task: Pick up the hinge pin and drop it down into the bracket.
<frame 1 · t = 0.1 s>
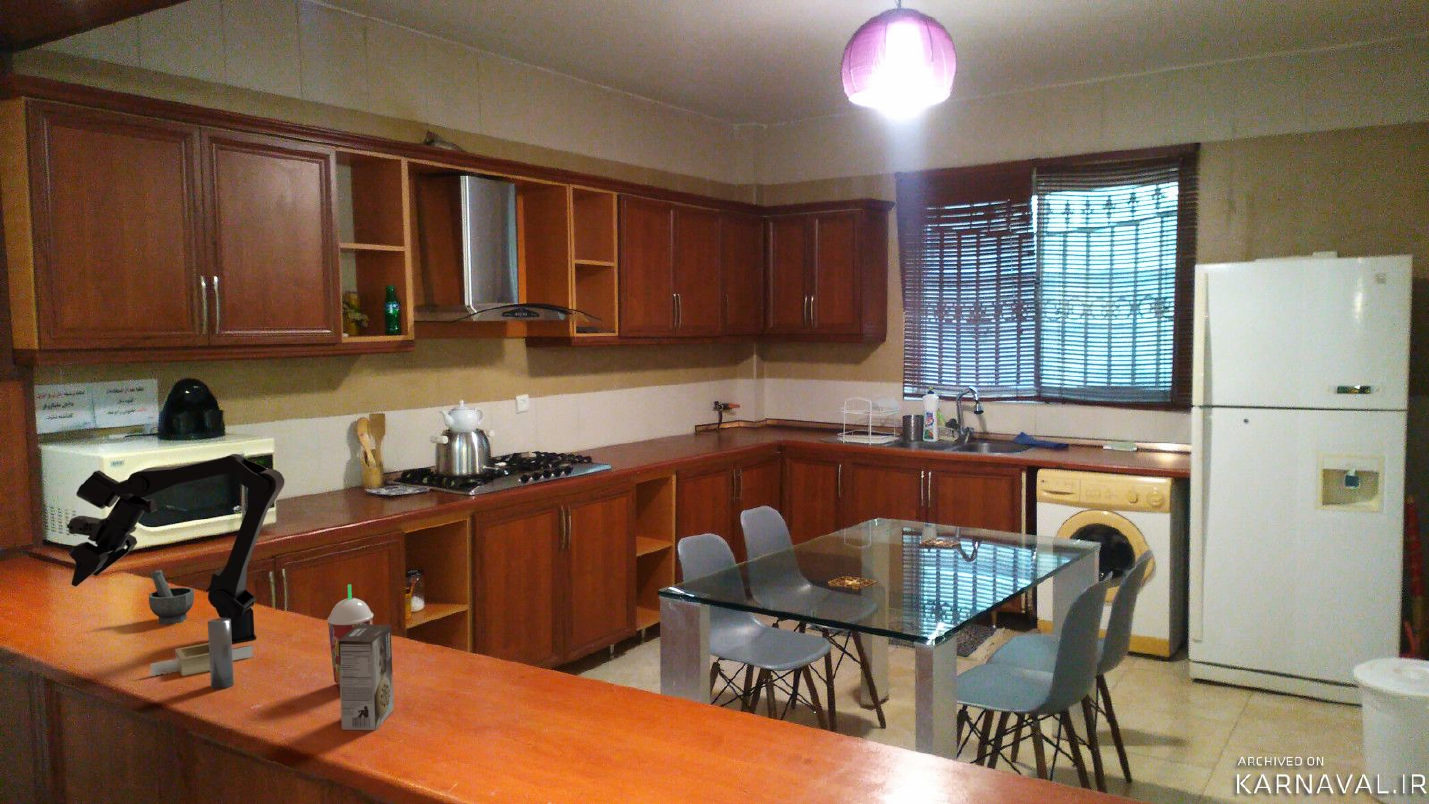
hand: (84, 580, 214), 15 cm above the worktop, tool tilted 35°, fingers open, 9 cm apart
hinge pin: (222, 685, 191), on the worktop
coffee box: (368, 721, 174), on the worktop
smoothie: (353, 686, 191), on the worktop
bracket: (200, 666, 202), on the worktop
mortar and pestle: (170, 621, 234), on the worktop
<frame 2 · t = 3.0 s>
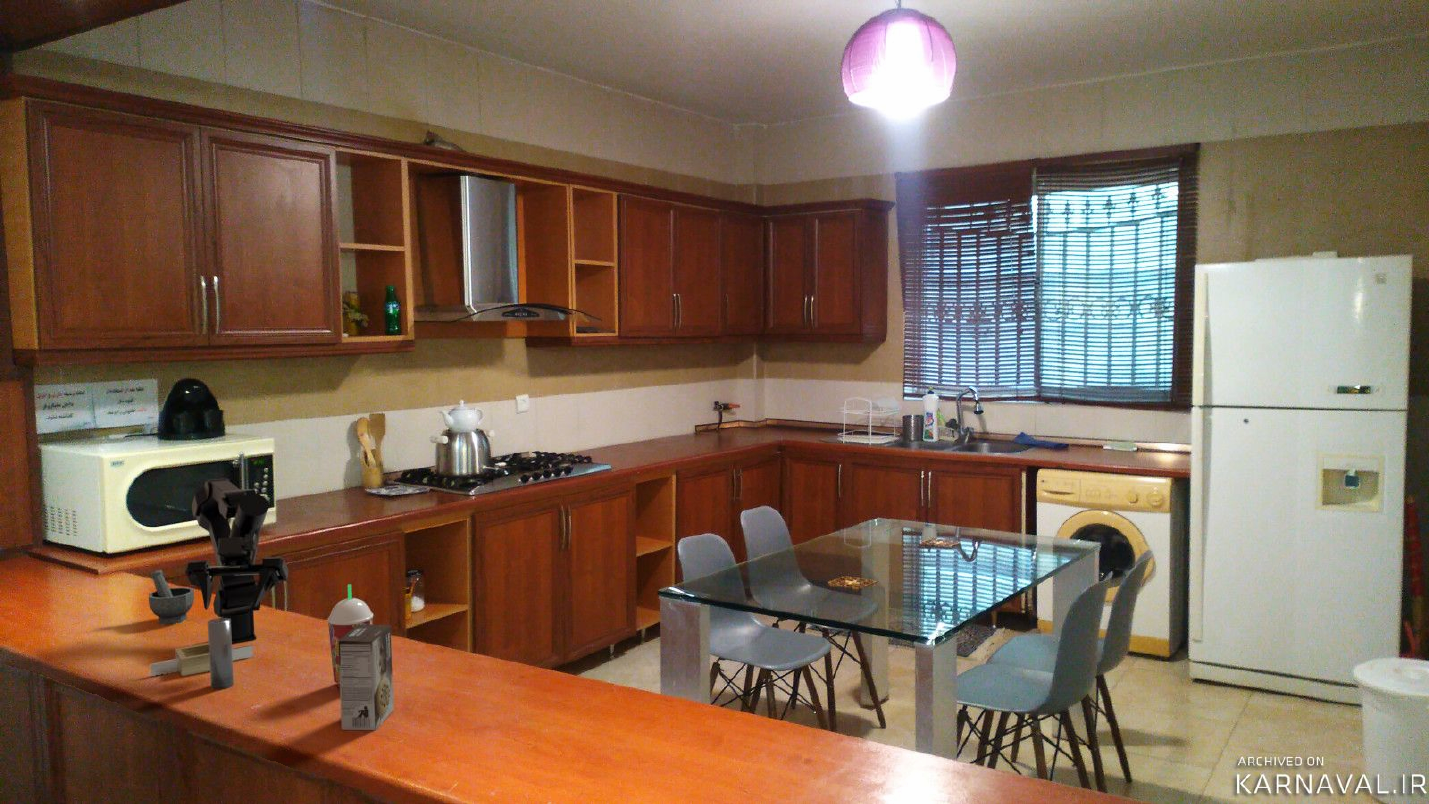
hand: (230, 607, 197), 13 cm above the worktop, tool tilted 45°, fingers open, 9 cm apart
nothing on the worktop moved.
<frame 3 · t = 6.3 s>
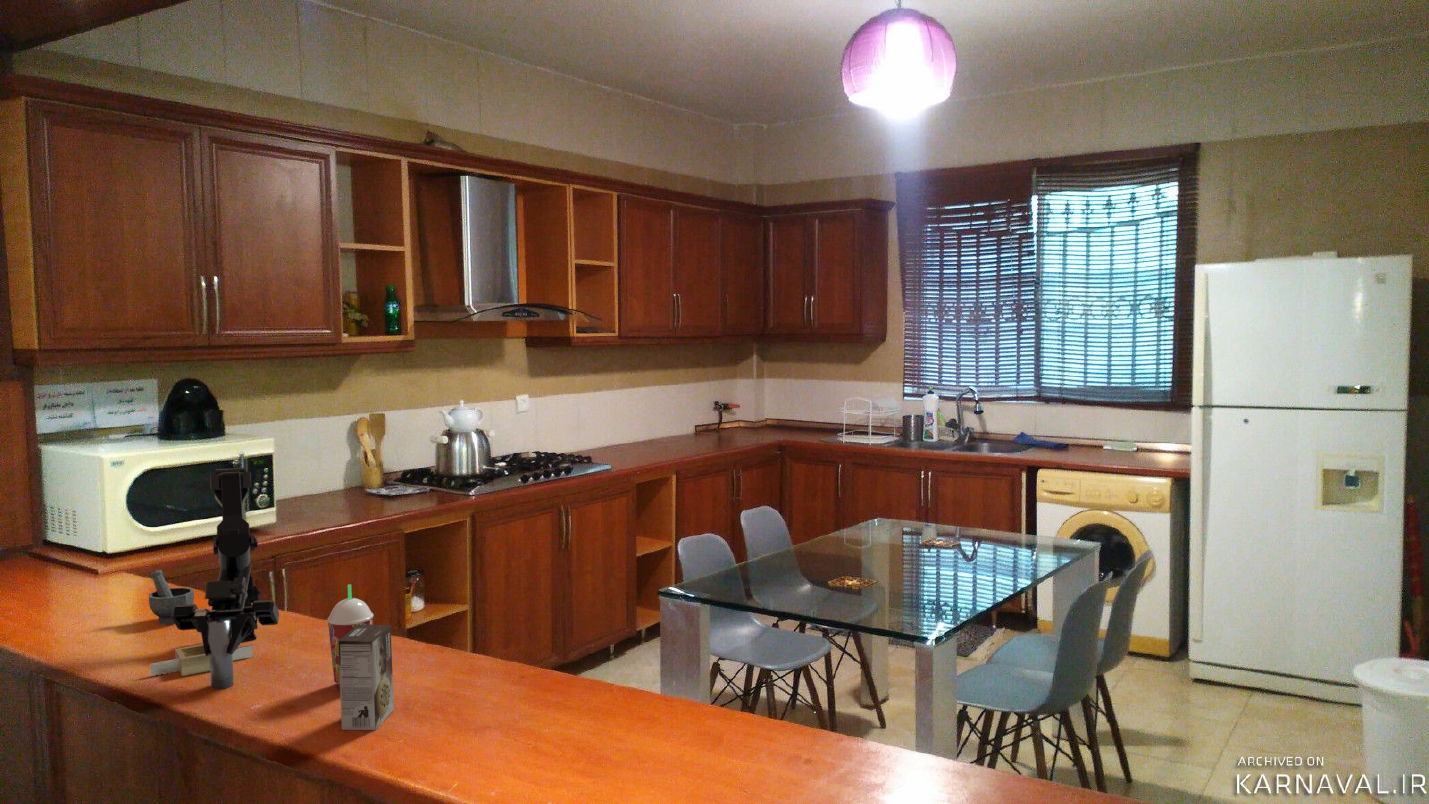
hand: (218, 654, 189), 7 cm above the worktop, tool tilted 45°, fingers closed on hinge pin, 4 cm apart
hinge pin: (222, 685, 191), on the worktop, touching gripper
everything else where it was.
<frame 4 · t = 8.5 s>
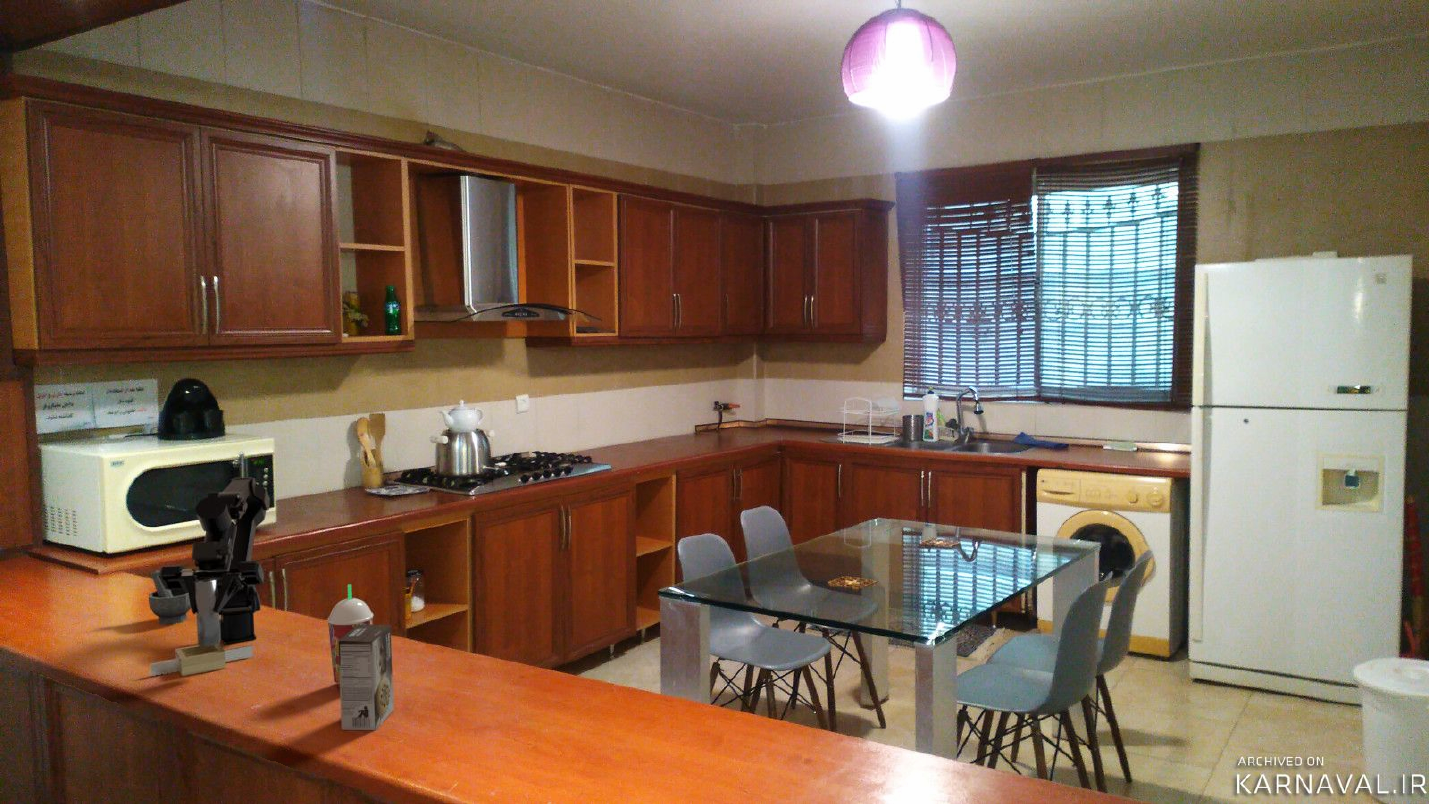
hand: (205, 612, 195), 13 cm above the worktop, tool tilted 45°, fingers closed on hinge pin, 4 cm apart
hinge pin: (209, 643, 197), point 6 cm above the worktop, touching gripper
everything else where it was.
when the fingers open (9 cm above the worktop, at t = 10.9 s): hinge pin drops 2 cm, resting in bracket.
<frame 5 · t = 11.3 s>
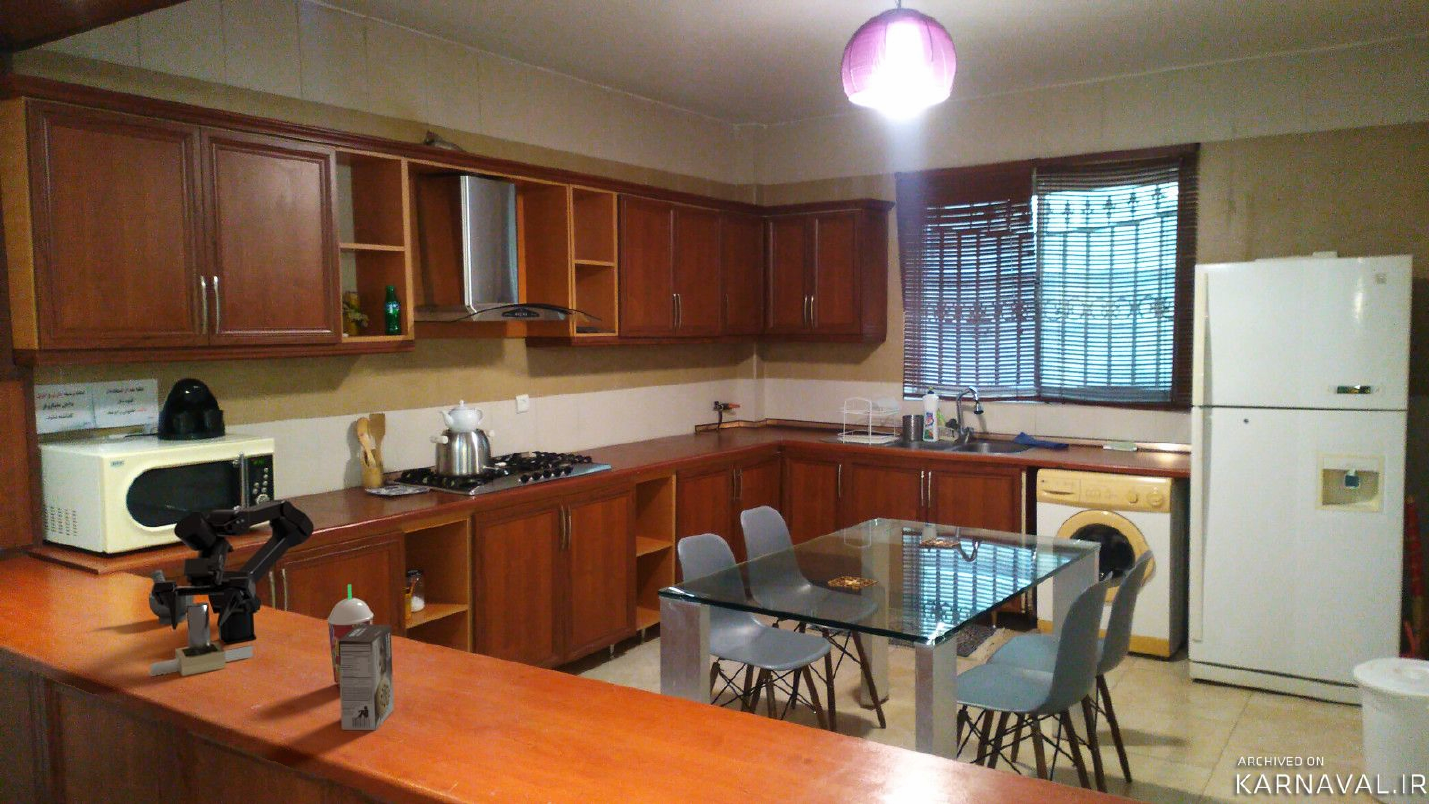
hand: (196, 627, 200), 9 cm above the worktop, tool tilted 45°, fingers open, 8 cm apart
hinge pin: (200, 666, 202), resting in bracket
everything else where it was.
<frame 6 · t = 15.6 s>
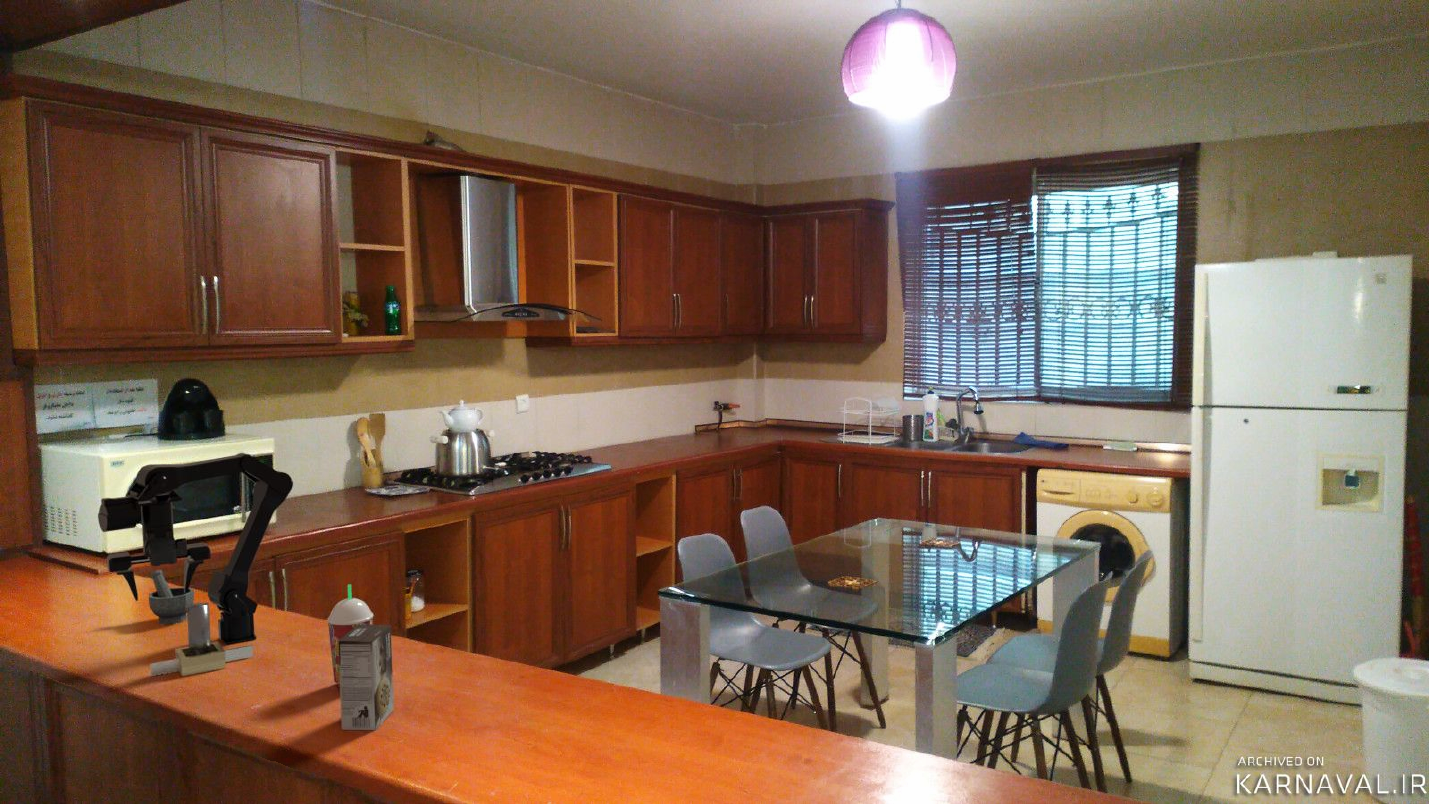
hand: (161, 596, 207), 13 cm above the worktop, tool pointing down, fingers open, 9 cm apart
nothing on the worktop moved.
at the end: hinge pin 0.1 cm off-centre on the bracket, point 0.0 cm above the bracket's base; hinge pin tilted 0°; the gripper is holding nothing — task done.
